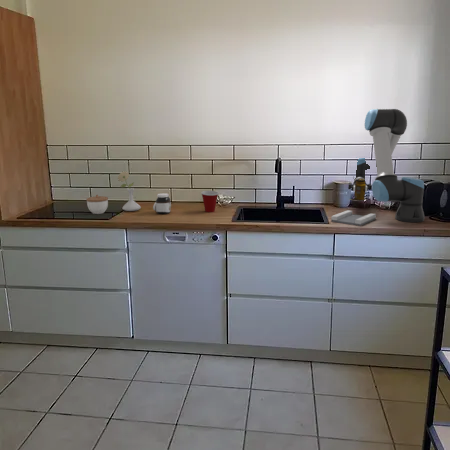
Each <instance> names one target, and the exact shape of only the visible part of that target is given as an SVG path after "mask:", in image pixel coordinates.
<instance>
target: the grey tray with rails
mask: <svg viewBox="0 0 450 450" xmlns="http://www.w3.org/2000/svg"><path fill="white" fill-rule="evenodd" d="M376 216H377V214H376V213H368V214H365V215H361V214H353V210H349V209H348V210H344V211H342V212H339V213H336V214H334V215H331V216H330V217H331V218H330V222H333V223H339V224H345V225H351V226H357V225H358V227H359V226H360V227H361V225H362V226H363V225H366V224H369V223H370V222H372V221H375V220H376Z"/></svg>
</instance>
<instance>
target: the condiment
mask: <svg viewBox="0 0 450 450" xmlns="http://www.w3.org/2000/svg"><path fill="white" fill-rule="evenodd" d="M365 188H366V185H365V180H364V179H356V184H355V191H354V196H353V198H349V200H351V201H355V202H361V201H363V202H364V201H368V199H366V198H365V197H366V191H365Z"/></svg>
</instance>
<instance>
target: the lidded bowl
mask: <svg viewBox="0 0 450 450" xmlns="http://www.w3.org/2000/svg"><path fill="white" fill-rule="evenodd" d="M86 204H87V208H88V210H89V211H90V212H91V213H92V214H93V215H99V214H104V213H105V211H107V209H108V207H109V197H107V196H99V195H98V194H96V195H95V196H90V197H87V198H86Z"/></svg>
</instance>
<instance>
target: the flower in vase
mask: <svg viewBox="0 0 450 450" xmlns="http://www.w3.org/2000/svg"><path fill="white" fill-rule="evenodd" d="M129 177H130V173H129V172H128V171H126V170H124V171H121V172H119V174H118V175H117V180H118V182H120V183H121V182H122V183H123V182H125V183H123V184H121V185H120V188H125V187H127V188H126V191H127V192H128V201H127V202H126V203H124V205H123V206H122V207H121V208H122V210H123V211H127V212H136V211H138V210H141V208H142V207H141V205H140V204H138V203H137V202H136V201H134V196H133V195H134V191H135V188H134V183H135V182H132V183H129V184H128V183H127V180H128V179H129ZM132 186H133V187H132Z"/></svg>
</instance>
